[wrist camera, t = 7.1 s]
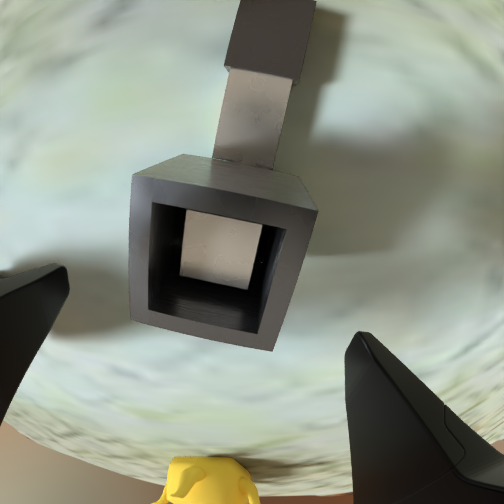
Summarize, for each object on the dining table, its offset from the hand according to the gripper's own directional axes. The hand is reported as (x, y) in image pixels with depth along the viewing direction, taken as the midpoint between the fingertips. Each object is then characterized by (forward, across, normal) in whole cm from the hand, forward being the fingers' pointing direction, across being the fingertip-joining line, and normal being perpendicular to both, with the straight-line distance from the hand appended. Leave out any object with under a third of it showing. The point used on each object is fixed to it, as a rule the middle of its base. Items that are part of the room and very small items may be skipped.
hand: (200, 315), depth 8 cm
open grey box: (+8, 0, 0) cm, 8 cm away
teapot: (+11, -3, +41) cm, 43 cm away
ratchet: (+11, 0, -5) cm, 12 cm away
